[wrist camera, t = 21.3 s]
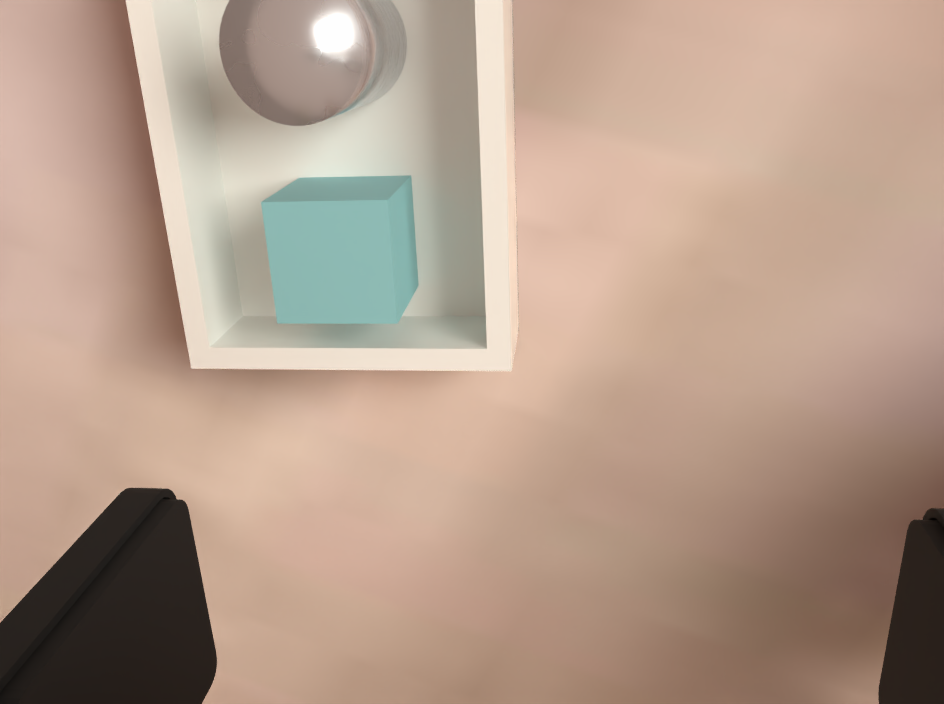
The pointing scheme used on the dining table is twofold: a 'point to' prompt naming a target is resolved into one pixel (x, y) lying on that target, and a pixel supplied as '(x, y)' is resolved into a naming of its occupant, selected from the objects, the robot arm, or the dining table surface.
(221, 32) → the steel cylinder
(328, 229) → the teal cube
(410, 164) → the tote
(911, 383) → the dining table surface
